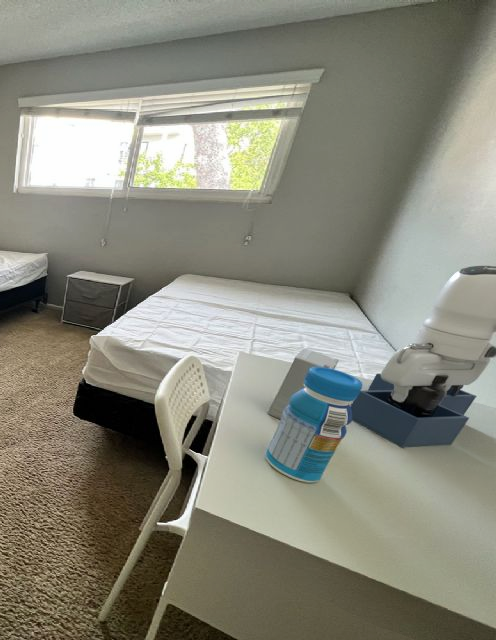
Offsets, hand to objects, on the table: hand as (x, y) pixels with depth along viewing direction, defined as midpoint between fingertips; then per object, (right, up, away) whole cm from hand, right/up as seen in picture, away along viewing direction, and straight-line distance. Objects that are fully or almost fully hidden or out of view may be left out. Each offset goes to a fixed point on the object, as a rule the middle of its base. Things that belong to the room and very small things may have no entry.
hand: (413, 400), depth 77 cm
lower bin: (-1, -7, +3) cm, 8 cm away
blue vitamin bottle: (-37, -10, -11) cm, 40 cm away
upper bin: (+14, -5, +12) cm, 19 cm away
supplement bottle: (0, -4, +2) cm, 5 cm away
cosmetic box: (-23, -5, +5) cm, 24 cm away
